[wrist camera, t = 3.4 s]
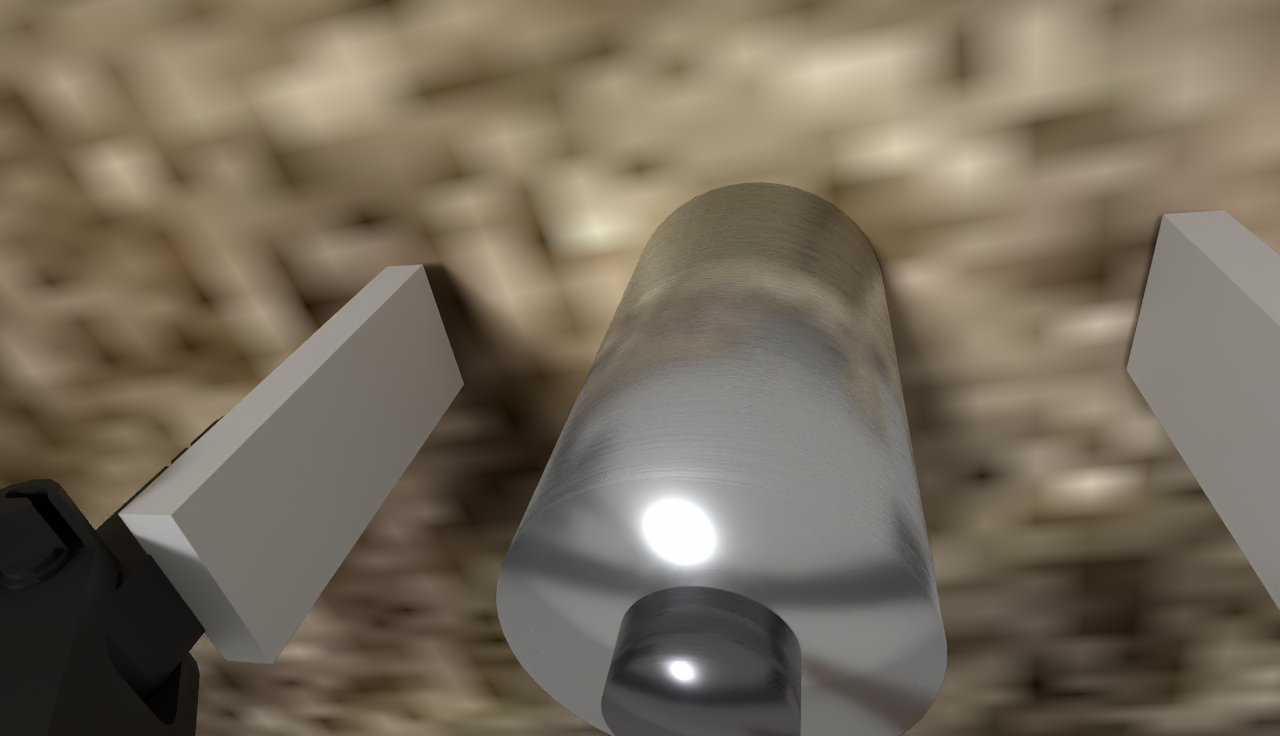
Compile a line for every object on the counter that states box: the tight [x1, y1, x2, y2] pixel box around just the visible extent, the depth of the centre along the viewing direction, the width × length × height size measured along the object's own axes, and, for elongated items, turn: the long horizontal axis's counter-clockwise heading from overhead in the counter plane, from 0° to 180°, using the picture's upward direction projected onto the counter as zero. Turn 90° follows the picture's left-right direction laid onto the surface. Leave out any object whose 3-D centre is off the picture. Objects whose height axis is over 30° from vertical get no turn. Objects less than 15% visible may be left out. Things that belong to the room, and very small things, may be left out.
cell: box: [496, 183, 947, 736], centre depth 10 cm, size 4×4×8 cm
